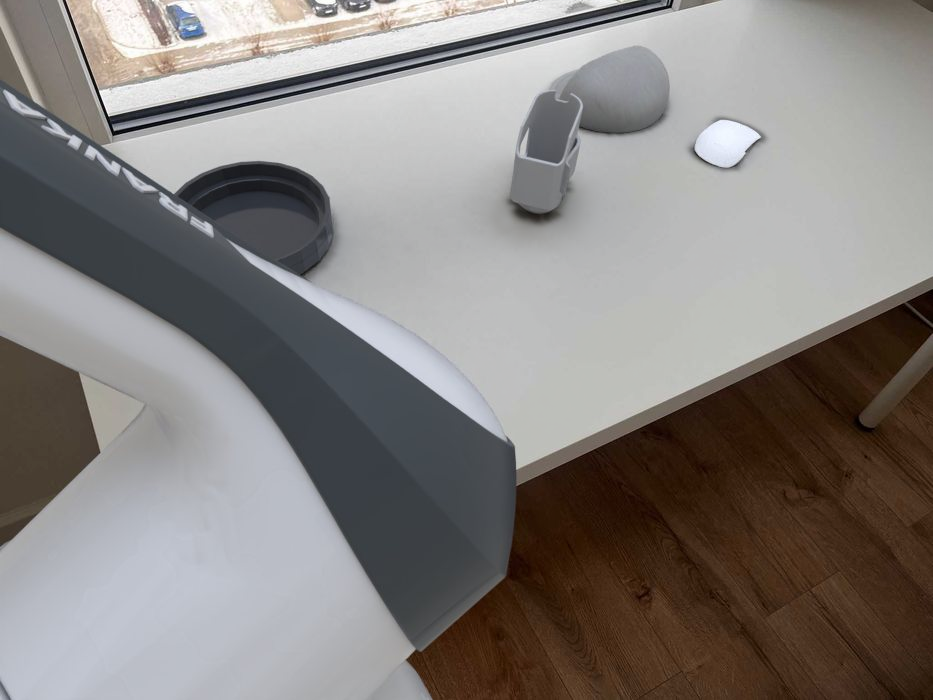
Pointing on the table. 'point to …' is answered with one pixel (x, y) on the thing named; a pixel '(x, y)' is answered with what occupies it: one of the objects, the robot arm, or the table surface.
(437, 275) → the table surface
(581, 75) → the gray cap
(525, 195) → the cable organizer
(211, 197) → the pan
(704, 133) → the white curved shell
